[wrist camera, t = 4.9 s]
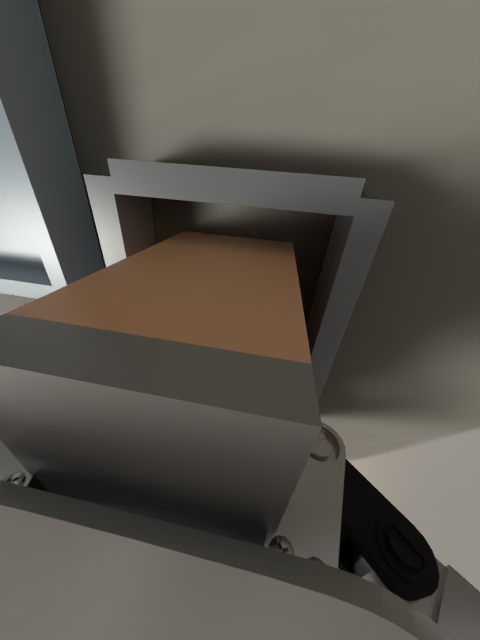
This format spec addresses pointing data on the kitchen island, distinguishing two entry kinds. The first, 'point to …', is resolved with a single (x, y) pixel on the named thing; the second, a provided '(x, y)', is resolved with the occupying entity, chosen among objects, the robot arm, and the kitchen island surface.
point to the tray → (38, 167)
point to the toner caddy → (168, 385)
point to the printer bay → (253, 191)
